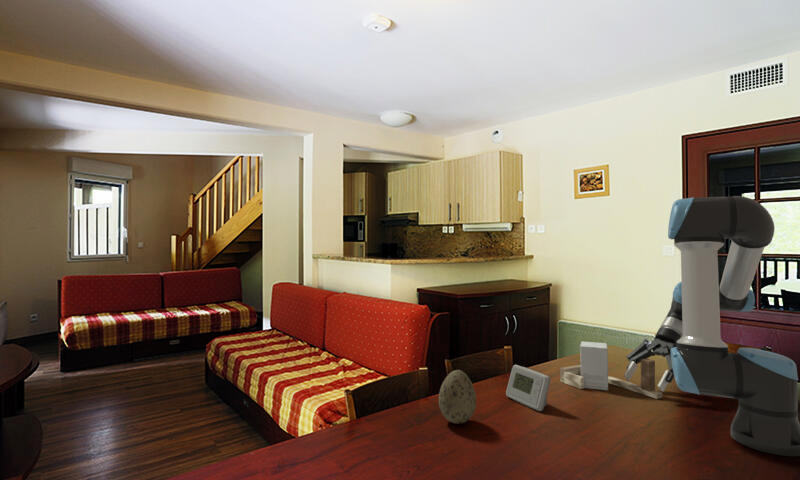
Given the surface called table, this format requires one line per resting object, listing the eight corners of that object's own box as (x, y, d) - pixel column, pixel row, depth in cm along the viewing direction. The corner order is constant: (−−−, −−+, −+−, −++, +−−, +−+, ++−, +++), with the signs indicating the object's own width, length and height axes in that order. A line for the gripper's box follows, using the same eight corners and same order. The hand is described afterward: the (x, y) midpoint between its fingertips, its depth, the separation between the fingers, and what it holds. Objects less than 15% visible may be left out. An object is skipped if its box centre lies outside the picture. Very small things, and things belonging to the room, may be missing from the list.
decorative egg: (482, 420, 127) (482, 368, 127) (466, 433, 118) (466, 378, 118) (449, 412, 133) (449, 363, 133) (431, 424, 124) (431, 371, 124)
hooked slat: (662, 397, 144) (662, 362, 144) (627, 406, 137) (627, 369, 137) (592, 375, 169) (592, 345, 169) (559, 381, 161) (559, 350, 161)
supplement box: (608, 383, 159) (607, 342, 159) (608, 391, 151) (608, 348, 151) (581, 380, 163) (580, 340, 163) (580, 387, 155) (579, 345, 155)
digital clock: (503, 396, 147) (503, 364, 147) (527, 393, 149) (526, 362, 149) (530, 414, 131) (530, 379, 131) (556, 411, 134) (556, 376, 134)
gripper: (711, 347, 144) (684, 401, 137) (643, 333, 165) (616, 380, 158) (702, 332, 141) (673, 387, 134) (634, 321, 163) (606, 367, 156)
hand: (642, 383), depth 146 cm, fingers open, 11 cm apart
